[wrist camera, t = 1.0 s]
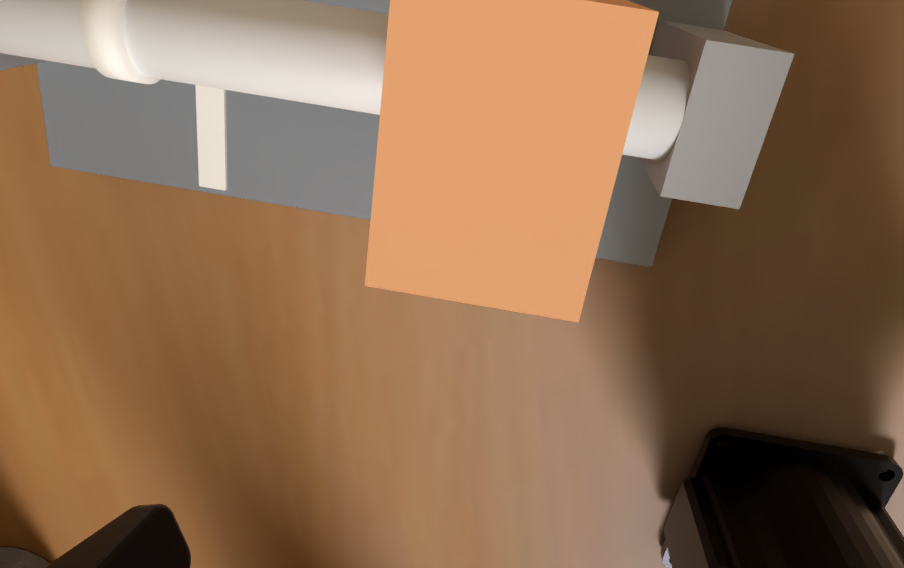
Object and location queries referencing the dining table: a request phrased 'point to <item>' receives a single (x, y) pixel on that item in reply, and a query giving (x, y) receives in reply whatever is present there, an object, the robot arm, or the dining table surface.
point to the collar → (502, 147)
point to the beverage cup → (20, 559)
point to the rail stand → (356, 102)
